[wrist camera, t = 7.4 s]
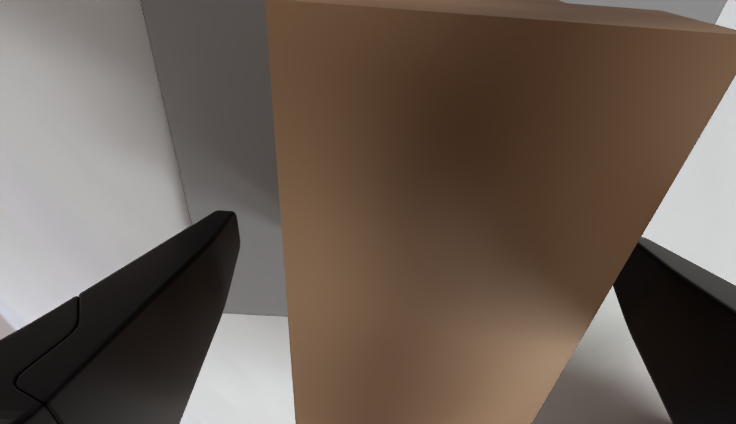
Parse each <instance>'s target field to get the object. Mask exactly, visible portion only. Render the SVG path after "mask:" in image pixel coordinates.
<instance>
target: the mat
mask: <svg viewBox="0 0 736 424" xmlns="http://www.w3.org/2000/svg"><path fill="white" fill-rule="evenodd" d="M140 1H141V5H142V9H143V14H144V18H145V22H146V27H147V31H148V36H149V40H150V44H151V49H152V53H153V57H154V62H155V66H156V71H157V75H158V79H159V84H160V88H161V92H162V97H163V101H164V105H165V110H166V114H167V119H168V123H169V127H170V132H171V136H172V140H173V145H174V149H175V154H176V158H177V162H178V167H179V171H180V175H181V180H182V184H183V188H184V193H185V197H186V202H187V206H188V210H189V215H190V219H191V223H192V225H193V224H195V223H196V222H198V221H200V220H201V219H203V218H205V217H206V216H208V215H209V214H211V213H213V212H214V211H217V210H224V211H234V212H235V213H236V215H237V220H238V227H239V234H240V250H239V254H238V258H237V262H236V266H235V270H234V274H233V278H232V282H231V286H230V290H229V294H228V298H227V301H226V305H225V308H224V311H223V313H229V314H247V315H266V316H285V317H288V310H287V297H286V283H285V269H284V255H283V242H282V228H281V214H280V200H279V187H278V173H277V159H276V146H275V132H274V118H273V104H272V91H271V77H270V63H269V49H268V36H267V22H266V8H265V0H140ZM559 1H562V2H565V3H571V4H584V5H597V6H610V7H623V8H636V9H649V10H661V11H665V12H669V13H673V14H677V15H680V16H684V17H688V18H692V19H695V20H699V21H703V22H707V23H711V24H714V25H715V23H716V21H717V19H718V17H719V15H720V14H721V12H722V10H723V8H724V6H725V4H726V2H727V0H559Z"/></svg>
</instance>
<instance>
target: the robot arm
mask: <svg viewBox="0 0 736 424" xmlns="http://www.w3.org/2000/svg"><path fill="white" fill-rule="evenodd" d="M239 250H240V234H239V227H238V220H237V215H236V213H235V212H234V211H224V210H217V211H214V212H213V213H211V214H209V215H208V216H206V217H205V218H203V219H201V220H200V221H198V222H196V223H195V224H193V225H191V226H190V227H188V228H187V229H185V230H183V231H182V232H180V233H178V234H177V235H175V236H173V237H172V238H170V239H169V240H167V241H165V242H164V243H162V244H160V245H159V246H157V247H155V248H154V249H152V250H151V251H149V252H147V253H146V254H144V255H142V256H141V257H139V258H137V259H136V260H134V261H133V262H131V263H129V264H128V265H126V266H124V267H123V268H121V269H119V270H118V271H116V272H115V273H113V274H111V275H110V276H108V277H106V278H105V279H103V280H101V281H100V282H98V283H96V284H95V285H93V286H92V287H90V288H88V289H87V290H85V291H83V292H82V293H80V294H79V297H78V296H75V297H73V298H72V299H70V300H68V301H67V302H65V303H64V304H62V305H60V306H59V307H57V308H55V309H54V310H52V311H50V312H49V313H47V314H45V315H43V316H42V317H40V318H38V319H37V320H35V321H33V322H32V323H30V324H28V325H26V326H25V327H23V328H21V329H19V330H17V331H15V332H14V333H12V334H10V335H8V336H6V337H5V338H3V339H1V340H0V424H179V423H180V421H181V418H182V416H183V413H184V411H185V408H186V406H187V403H188V400H189V398H190V395H191V393H192V390H193V388H194V385H195V383H196V380H197V377H198V375H199V372H200V370H201V367H202V365H203V362H204V360H205V357H206V355H207V352H208V349H209V347H210V344H211V342H212V339H213V337H214V334H215V332H216V329H217V326H218V324H219V321H220V319H221V316H222V313H223V311H224V308H225V305H226V301H227V298H228V294H229V290H230V286H231V282H232V278H233V274H234V270H235V266H236V262H237V258H238V254H239ZM613 287H614V290H615V293H616V295H617V298H618V301H619V304H620V307H621V310H622V313H623V316H624V318H625V321H626V324H627V326H628V329H629V331H630V334H631V336H632V338H633V340H634V343H635V345H636V347H637V349H638V351H639V353H640V355H641V357H642V359H643V362H644V364H645V366H646V368H647V370H648V372H649V374H650V376H651V379H652V381H653V383H654V385H655V387H656V389H657V391H658V393H659V396H660V398H661V400H662V402H663V404H664V406H665V408H666V410H667V412H668V415H669V417H670V419H671V421H672V423H673V424H736V286H735V285H733V284H731V283H729V282H728V281H726V280H724V279H722V278H720V277H718V276H716V275H714V274H713V273H711V272H709V271H707V270H705V269H703V268H701V267H699V266H697V265H696V264H694V263H692V262H690V261H688V260H686V259H684V258H682V257H681V256H679V255H677V254H675V253H673V252H671V251H669V250H667V249H666V248H664V247H662V246H660V245H658V244H656V243H654V242H652V241H650V240H649V239H647V238H643V237H641V238H640V239H639V241H638V243H637V244H636V246H635V248H634V250H633V251H632V253H631V255H630V256H629V258H628V260H627V262H626V263H625V265H624V267H623V268H622V270H621V272H620V273H619V275H618V277H617V279H616V280H615V282H614V284H613Z"/></svg>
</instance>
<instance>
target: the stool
mask: <svg viewBox="0 0 736 424" xmlns="http://www.w3.org/2000/svg"><path fill="white" fill-rule="evenodd" d="M265 8H266V22H267V36H268V49H269V63H270V77H271V91H272V104H273V118H274V132H275V146H276V159H277V173H278V187H279V200H280V214H281V228H282V242H283V255H284V269H285V283H286V297H287V310H288V324H289V338H290V352H291V365H292V379H293V393H294V407H295V420H296V424H532V422H533V420H534V419H535V417H536V415H537V414H538V412H539V410H540V408H541V407H542V405H543V403H544V402H545V400H546V398H547V396H548V395H549V393H550V391H551V390H552V388H553V386H554V384H555V383H556V381H557V379H558V378H559V376H560V374H561V373H562V371H563V369H564V367H565V366H566V364H567V362H568V361H569V359H570V357H571V355H572V354H573V352H574V350H575V349H576V347H577V345H578V343H579V342H580V340H581V338H582V337H583V335H584V333H585V332H586V330H587V328H588V326H589V325H590V323H591V321H592V320H593V318H594V316H595V314H596V313H597V311H598V309H599V308H600V306H601V304H602V303H603V301H604V299H605V297H606V296H607V294H608V292H609V291H610V289H611V287H612V285H613V284H614V282H615V280H616V279H617V277H618V275H619V273H620V272H621V270H622V268H623V267H624V265H625V263H626V262H627V260H628V258H629V256H630V255H631V253H632V251H633V250H634V248H635V246H636V244H637V243H638V241H639V239H640V238H641V236H642V234H643V233H644V231H645V229H646V227H647V226H648V224H649V222H650V221H651V219H652V217H653V215H654V214H655V212H656V210H657V209H658V207H659V205H660V203H661V202H662V200H663V198H664V197H665V195H666V193H667V192H668V190H669V188H670V186H671V185H672V183H673V181H674V180H675V178H676V176H677V174H678V173H679V171H680V169H681V168H682V166H683V164H684V162H685V161H686V159H687V157H688V156H689V154H690V152H691V151H692V149H693V147H694V145H695V144H696V142H697V140H698V139H699V137H700V135H701V133H702V132H703V130H704V128H705V127H706V125H707V123H708V122H709V120H710V118H711V116H712V115H713V113H714V111H715V110H716V108H717V106H718V104H719V103H720V101H721V99H722V98H723V96H724V94H725V92H726V91H727V89H728V87H729V86H730V84H731V82H732V81H733V79H734V77H735V75H736V30H733V29H730V28H726V27H722V26H718V25H714V24H711V23H707V22H703V21H699V20H695V19H692V18H688V17H684V16H680V15H677V14H673V13H669V12H665V11H661V10H649V9H636V8H623V7H610V6H597V5H584V4H571V3H565V2H562V1H559V0H265Z"/></svg>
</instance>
